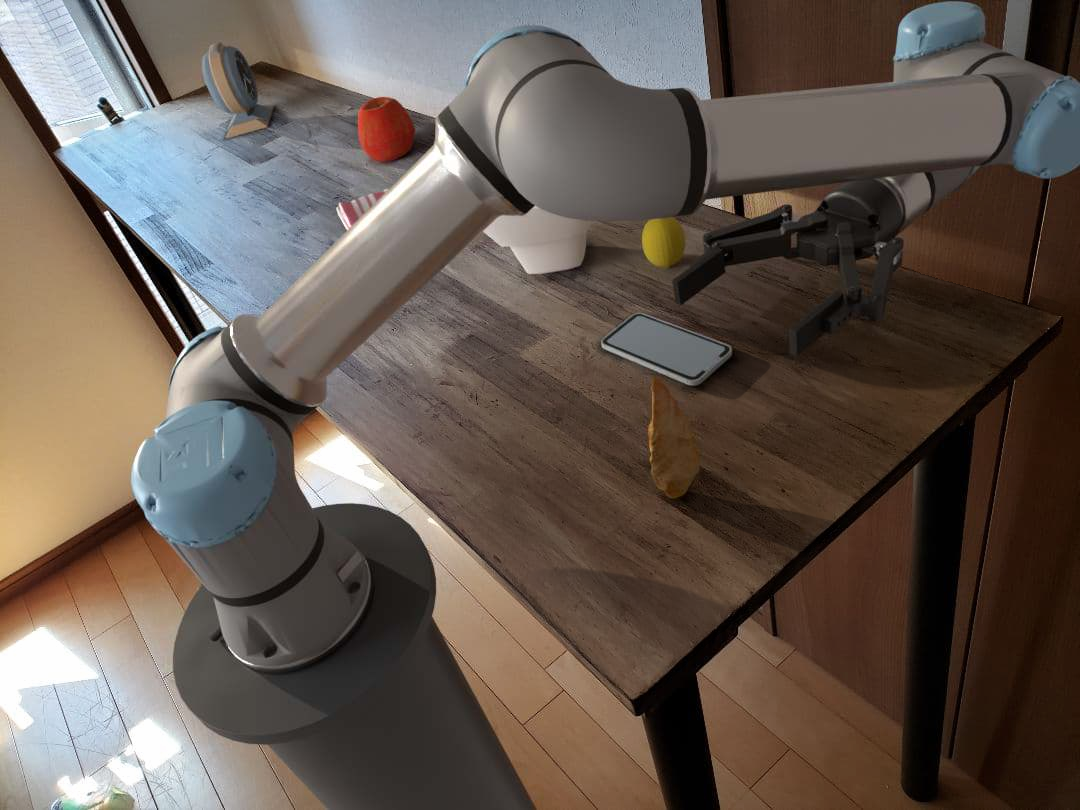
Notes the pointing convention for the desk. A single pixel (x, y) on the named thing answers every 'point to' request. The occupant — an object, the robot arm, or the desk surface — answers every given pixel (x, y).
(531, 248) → the bowl
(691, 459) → the stone tool
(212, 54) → the alarm clock
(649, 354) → the smartphone
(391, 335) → the desk surface
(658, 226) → the lemon
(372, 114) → the apple
